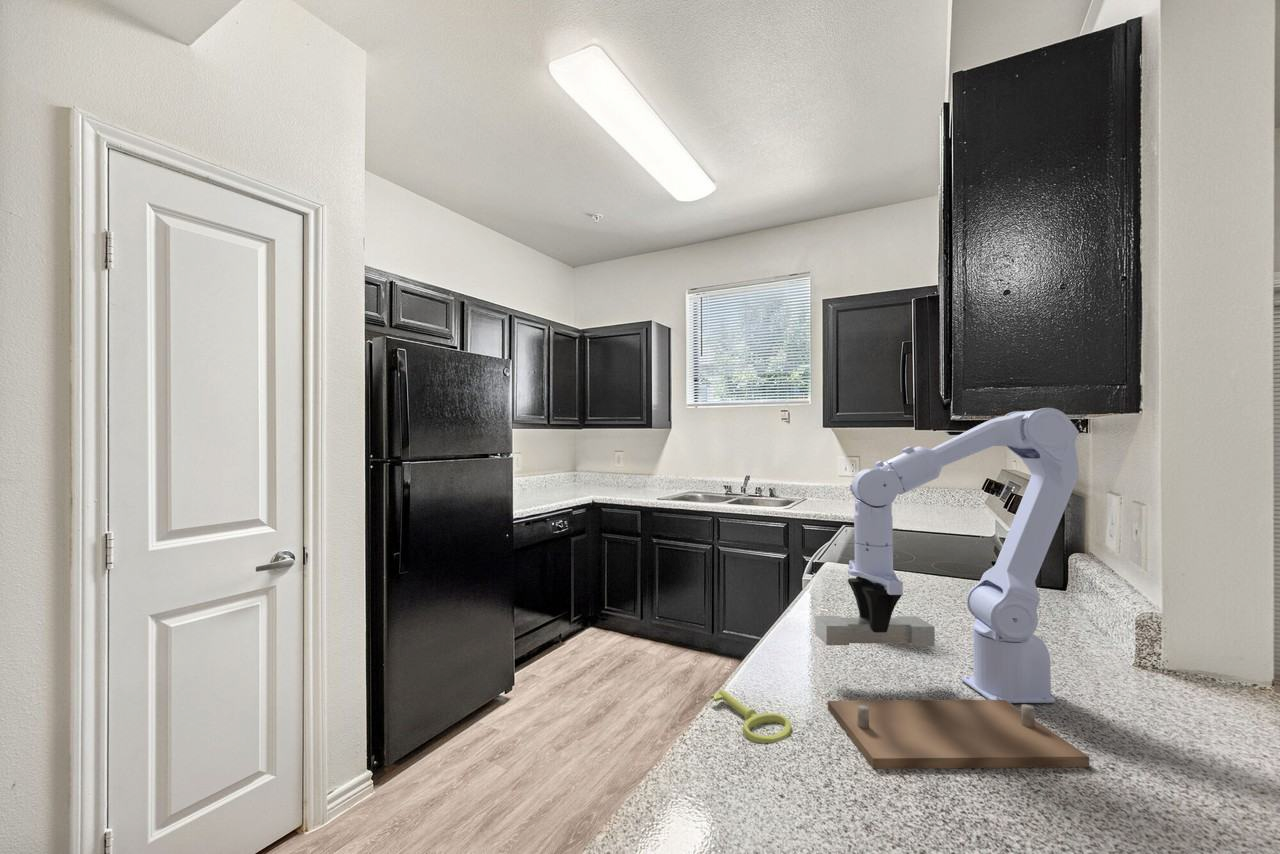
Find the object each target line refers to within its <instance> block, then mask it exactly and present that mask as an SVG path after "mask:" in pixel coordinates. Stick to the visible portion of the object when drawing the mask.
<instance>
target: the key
mask: <svg viewBox="0 0 1280 854" xmlns="http://www.w3.org/2000/svg"><path fill="white" fill-rule="evenodd" d="M720 689H721V690H720ZM720 689H719V690H718V691H717V693H718V692H719V691H720V692H719V693H718V694H717V693H713V694H710V697H709V698H710V699H712V701H714V702H715V703H716V702H718V701H719V702H720V701H723V702H725V703H726V704H727V705H728V706H730V707H731V708H732V709H734V711H736V712H737V713H738V714H740V715H741V716H742V717H744V721H745V722H744V723H743V726H742V734H743V735H742V736H744V737H745V738H746V739H747V740H749V741H751V742H753V743H758V744H759V743H761V744H763V743H764V744H765V743H766V744H767V743H768V744H770V743H774V742H778V741H781V740H784V739H785V738H787V737H789V736H790V734H791V733H792V730H793V728H792V723H791V721H790V720H789V718H787V717H786V716H785V715H783V714H780V713H775V712H765V713H764V712H763V713H760V714H757V712H756V710H755V709H754V708H748V707H747V706H745V705H744V704H743V703H741V702H740V701H738V699H736V698H735V697H734V696H732V695H731V694H730V693H728V692H727V691H726V690H724V689H722V688H720ZM716 694H717V695H716ZM715 695H716V697H715V698H714V696H715ZM713 698H714V700H713ZM765 723H779V724H781V725H783V726H784V727H783V729H782V730H781V731H779V732H778V733H774V734H770V735H762V734H757V733H754V732H752V731H751V729H753V728H754V727H756V726H758V725H761V724H765Z"/></svg>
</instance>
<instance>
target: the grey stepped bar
mask: <svg viewBox="0 0 1280 854" xmlns="http://www.w3.org/2000/svg"><path fill="white" fill-rule="evenodd" d="M814 617H815V618H814V619H815V620H814V626H815V627H814V631H815V632H814V634H815V635H816V637H818V638H819V639H820V640H821V641H822V642H823V644H825V646H850V644H881V645H883V644H891V645H894V644H902V645H903V644H904V645H905V644H907V645H908V644H909V645H910V646H912V647H917V646H918V647H935V645H936V643H935V642H936V641H935V640H936V639H935V638H936V637H935V635H936V633H935V632H936V631H935V626H934V625H932V624H931V623H929V622H928V621H926V620H924V619H922V618H921V617H919V616H917V615H914V616H912V615H911V616H907V615H902V616H901V615H900V616H895V617H891V619H890V623H889V627H888V630H887V632H873V631H872V627H871V623H870V618H859V617H839V616H837V615H814Z"/></svg>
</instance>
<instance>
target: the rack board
mask: <svg viewBox="0 0 1280 854" xmlns="http://www.w3.org/2000/svg"><path fill="white" fill-rule="evenodd" d="M1020 706H1021V707H1020V708H1018V707H1017V706H1015V705H1014V704H1013V703H1009V702H1008V701H1006V700H989V699H916V700H915V699H904V700H903V699H901V700H900V699H898V700H897V699H895V700H894V699H892V700H889V699H888V700H885V699H884V700H883V699H882V700H881V699H880V700H878V699H877V700H874V699H873V700H872V699H871V700H863V699H860V700H827V710H828V711H829V713H830V714H831V715H832V717H833V718H834V720H836V722H837V723H838V724H839V726H840V727H841V728H842V730H843V731H844V733H846V735H847V737H848V738H849V739H850V740H851V742H852V743H853V744H854V745H855V747H856V748H857V750H858V752H860V753H861V755H862V756H863V758H864V759H865V760H866V761H867V763H868V764H869V765H870V767H871V768H872V769H875V770H880V769H881V770H883V769H884V770H888V769H889V770H893V769H896V770H897V769H899V770H900V769H990V768H991V769H993V768H995V769H996V768H997V769H998V768H999V769H1002V768H1003V769H1005V768H1007V769H1008V768H1013V769H1014V768H1015V769H1017V768H1021V769H1022V768H1089V767H1090V756H1089V755H1087V754H1086V753H1085V752H1083V751H1081V750H1080V749H1078V748H1077V747H1076V746H1074V745H1073V744H1071V743H1070V742H1068V741H1067V740H1066V739H1064V738H1063V737H1061V736H1060V735H1058V734H1057V733H1055V732H1053V731H1052V730H1051V729H1049V728H1048V727H1046V726H1045V725H1044V724H1041V723H1040V722H1038V720H1036V719H1035V715H1036V714H1035V707H1034V706H1032V705H1030V704H1027V703H1021V705H1020Z"/></svg>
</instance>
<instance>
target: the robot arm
mask: <svg viewBox="0 0 1280 854" xmlns="http://www.w3.org/2000/svg"><path fill="white" fill-rule="evenodd" d="M1079 433H1080V431H1079V430H1078V429H1077V427H1076V426H1075V425H1074V423H1073V422H1072V421H1071V419H1070V418H1069V417H1068V415H1067V414H1066V413H1064V412H1063V411H1061V410H1060V409H1057V408H1054V407H1043V408H1042V407H1041V408H1039V409H1034V410H1024V411H1022V410H1017V411H1012V412H1011V411H1010V412H1008V413H1007V414H1005V415H1003V416H998V417H994V418H991V419H989V420H986V421H984V422H983V423H980V424H977V425H976V426H974V427H972V428H970V429H968V430H966V431H964V432H962V433H961V434H958V435H956V436H954V437H952V438H951V439H948V440H946V441H944V442H942V443H940V444H939V445H936V446H934V447H933V448H927V447H924V446H920V445H919V446H915V447H913V446H912V445H911V446H909V445H908V446H907V447H904V448H902V449H901V451H902V452H903V453H901V454H899V455H897V456H894V457H892V458H890V459H888V460H885V461H883V460H878V461H876V462H875V464H874V466H875V468H874V469H873V468H866V469H865V468H864V469H862V470H860V471H858V472H857V473H856V474H855V476H853V478H852V481H851V484H850V485H849V488H850V492H851V494H852V496H853V498H854V514H853V516H854V518H853V519H854V520H853V521H854V522H853V524H854V525H853V527H854V531H853V532H854V539H853V540H854V560H849V561H848V569H847V574H849V575H850V576H852V577H853V578H851V577H850V578H847V583H848V584H849V586H850V588H851V590H852V593H853V596H854V597H855V600H856V605H857V608H858V609H857V610H858V612H859V614H860V618H870V623H871V627H872V631H873V632H887V630H888V627H889V623H890V619H891V618H892V615H893V612H894V609H895V607H896V605H897V603H898V602H899V600H900V599H901V597H902V596H903V595H904V591H903V590H904V588H903V586H904V585H903V581H902V580H900V579H899V578H898V576H897V574H896V573H895V572H894V571H895V570H894V540H893V539H894V538H893V537H894V535H893V531H894V530H893V527H894V526H893V525H894V524H893V512H892V511H893V509H892V504H893V502H894V501H895V500H896V499H897V496H898V495H903V494H905V493H907V492H909V491H912V490H914V489H916V488H919V487H921V486H923V485H925V484H927V483H930V482H932V481H934V480H936V479H938V478H939V476H940V474H941V471H942V468H943V467H945V466H947V465H949V464H953V463H955V462H958V461H960V460H962V459H965V458H967V457H969V456H973V455H975V454H977V453H979V452H982V451H984V450H987V449H989V448H992V447H1006V448H1007V449H1009V450H1010V451H1011V452H1013V453H1014V454H1015V455H1016V456H1018V457H1019V458H1020V459H1021V460H1022V462H1023V463H1024V464H1025V467H1027V469H1028V470H1029V472H1030V474H1031V475H1030V479H1029V482H1028V483H1027V486H1026V488H1025V491H1024V494H1023V496H1022V498H1021V501H1020V503H1019V505H1018V508H1017V510H1016V513H1015V515H1014V517H1013V520H1012V522H1011V525H1010V528H1009V530H1008V532H1007V535H1006V536H1005V540H1004V542H1003V544H1002V547H1001V549H1000V552H999V554H998V557H997V559H996V561H995V564H994V565H993V566H992V567H991V568H989V569H987V570H986V571H985V572H983V574H982V576H981V578H980V580H979V582H978V583H976V584H975V585H974V586H972V587H971V589H969V591H968V593H967V596H966V607H967V609H968V611H969V612H970V613H971V615H973V617H974V622H973V624H972V635H973V637H972V638H973V640H972V642H973V643H972V645H973V646H972V647H973V648H972V649H973V650H972V652H973V655H972V657H973V676H961V677H960V680H961V681H962V682H963V683H965V684H966V685H968V686H969V687H970V688H972V689H973V690H975V691H976V692H978V694H980V695H981V696H983V697H984V698H986V700H1006V701H1008V702H1009V703H1011V704H1055V703H1056V699H1055V698H1054V697H1053V696H1052V685H1051V684H1052V683H1051V680H1052V678H1051V675H1052V673H1051V671H1052V670H1051V656H1050V652H1049V650H1048V646H1047V645H1046V643H1045V642H1044V641H1043V640H1042V639H1041V637H1040V636H1038V635H1036V634H1034V633H1036V630H1037V628H1038V624H1039V619H1038V607H1039V604H1040V601H1041V597H1040V594H1039V591H1038V588H1037V585H1036V580H1037V577H1038V575H1039V572H1040V570H1041V567H1042V566H1043V563H1044V560H1045V558H1046V556H1047V553H1048V551H1049V548H1050V546H1051V544H1052V541H1053V540H1054V539H1053V538H1054V536H1055V534H1056V531H1057V530H1058V527H1059V525H1060V522H1061V519H1062V517H1063V514H1064V513H1065V510H1066V508H1067V505H1068V504H1069V503H1068V502H1069V500H1070V497H1071V495H1072V492H1073V490H1074V488H1075V486H1076V483H1077V482H1078V481H1077V480H1078V478H1079V475H1080V466H1079V461H1078V453H1077V446H1076V441H1077V437H1078V436H1079ZM893 570H894V571H893ZM856 576H857V577H856ZM859 614H858V615H859Z"/></svg>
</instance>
